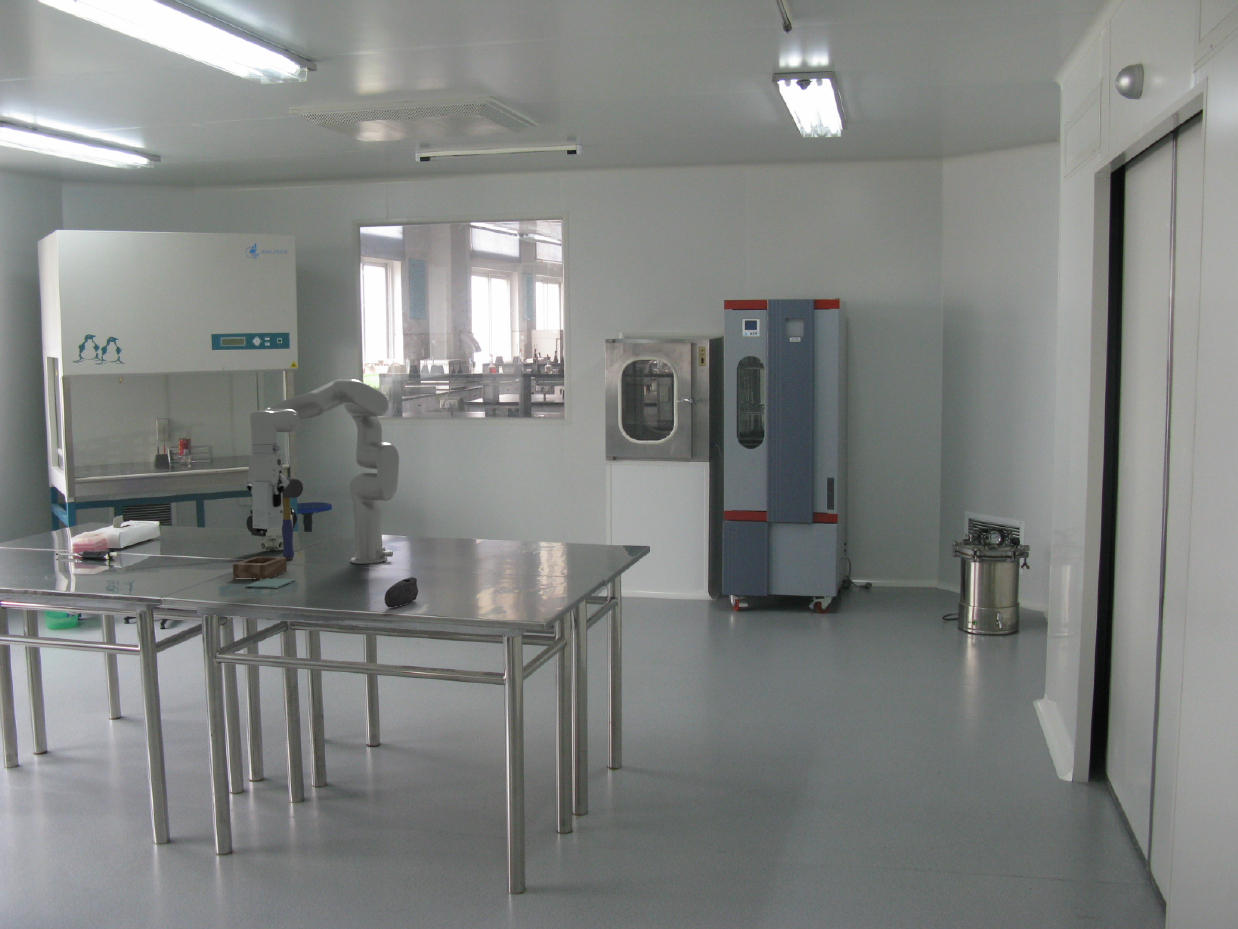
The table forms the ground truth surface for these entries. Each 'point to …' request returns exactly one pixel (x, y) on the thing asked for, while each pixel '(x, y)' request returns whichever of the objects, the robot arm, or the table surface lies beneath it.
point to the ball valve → (270, 533)
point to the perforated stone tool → (401, 592)
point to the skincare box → (265, 506)
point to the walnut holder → (260, 567)
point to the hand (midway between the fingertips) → (267, 505)
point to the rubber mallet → (287, 530)
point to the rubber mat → (270, 583)
